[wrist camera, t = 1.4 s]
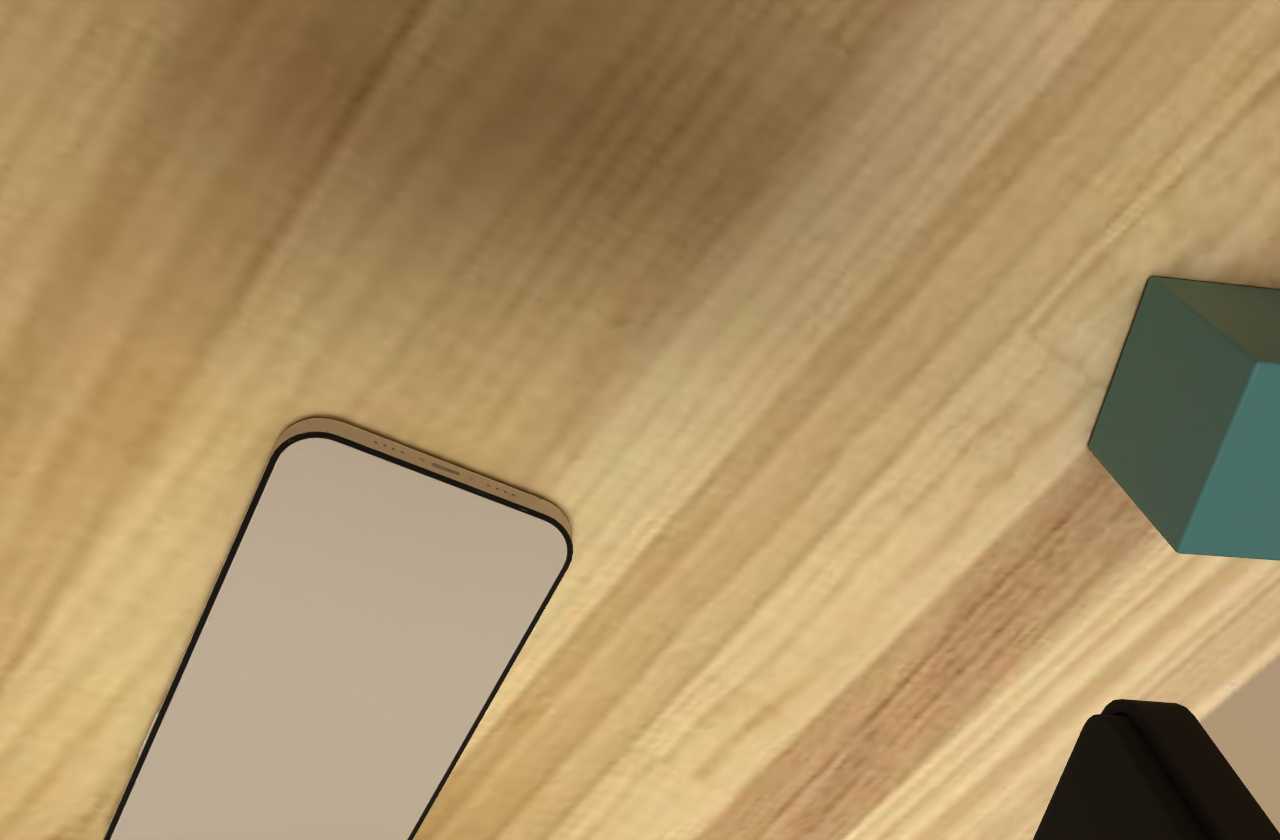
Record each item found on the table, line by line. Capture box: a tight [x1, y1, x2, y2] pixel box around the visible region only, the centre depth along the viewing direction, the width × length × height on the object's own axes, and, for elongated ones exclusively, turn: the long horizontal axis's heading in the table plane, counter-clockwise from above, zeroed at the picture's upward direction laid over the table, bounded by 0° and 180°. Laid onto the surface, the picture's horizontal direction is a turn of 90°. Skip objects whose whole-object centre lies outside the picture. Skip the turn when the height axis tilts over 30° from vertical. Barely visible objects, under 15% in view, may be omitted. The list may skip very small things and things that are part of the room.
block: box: [1089, 277, 1280, 560], centre depth 26 cm, size 4×4×4 cm
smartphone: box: [103, 418, 573, 840], centre depth 30 cm, size 7×1×15 cm
